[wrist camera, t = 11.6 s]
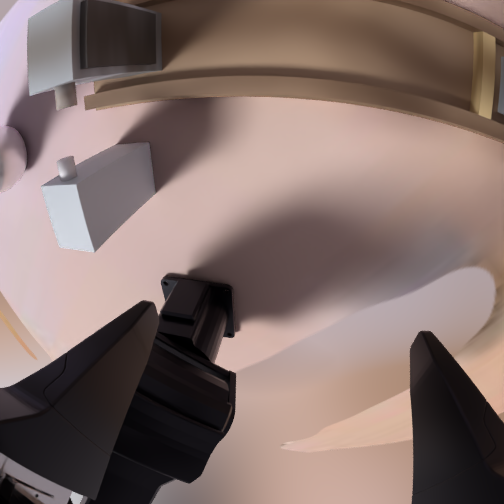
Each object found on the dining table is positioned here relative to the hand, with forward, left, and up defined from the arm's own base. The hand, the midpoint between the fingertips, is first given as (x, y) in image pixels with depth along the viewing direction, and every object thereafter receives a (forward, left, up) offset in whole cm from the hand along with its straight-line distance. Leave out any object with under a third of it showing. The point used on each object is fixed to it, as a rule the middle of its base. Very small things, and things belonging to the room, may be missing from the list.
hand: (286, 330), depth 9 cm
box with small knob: (+1, +12, -12) cm, 17 cm away
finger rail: (+10, -2, -12) cm, 16 cm away
